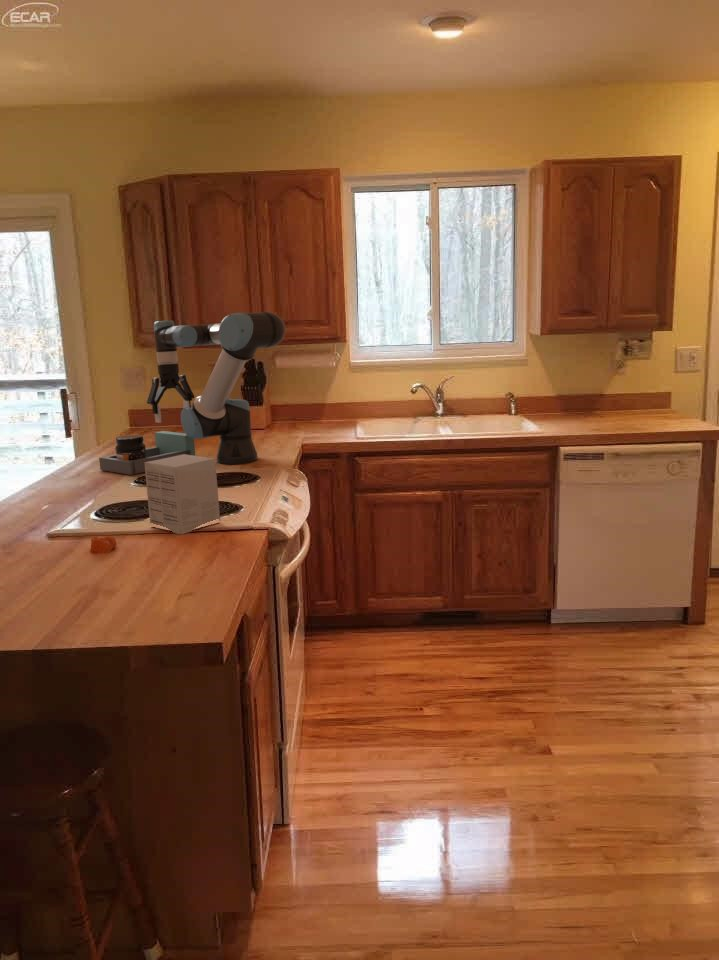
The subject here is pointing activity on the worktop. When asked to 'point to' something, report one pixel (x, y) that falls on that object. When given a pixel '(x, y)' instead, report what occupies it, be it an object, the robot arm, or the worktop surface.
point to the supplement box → (182, 492)
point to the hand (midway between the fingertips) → (173, 420)
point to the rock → (102, 544)
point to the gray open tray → (151, 453)
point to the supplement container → (130, 447)
